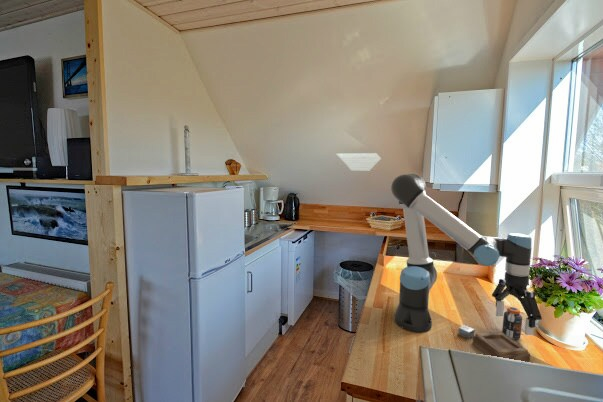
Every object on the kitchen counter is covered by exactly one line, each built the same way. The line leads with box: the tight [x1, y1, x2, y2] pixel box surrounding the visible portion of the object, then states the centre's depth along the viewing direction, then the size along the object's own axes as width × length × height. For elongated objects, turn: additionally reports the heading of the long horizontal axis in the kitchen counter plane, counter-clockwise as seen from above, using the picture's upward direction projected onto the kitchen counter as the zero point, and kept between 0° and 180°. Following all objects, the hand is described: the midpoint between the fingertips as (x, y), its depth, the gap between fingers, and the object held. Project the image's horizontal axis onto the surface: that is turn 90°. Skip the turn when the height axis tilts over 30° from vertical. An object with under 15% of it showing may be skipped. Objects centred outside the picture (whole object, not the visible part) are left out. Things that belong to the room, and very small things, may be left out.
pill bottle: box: [501, 306, 523, 340], centre depth 112 cm, size 6×6×11 cm
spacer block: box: [457, 324, 475, 340], centre depth 112 cm, size 4×4×3 cm
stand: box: [472, 331, 531, 363], centre depth 102 cm, size 12×12×4 cm
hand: (513, 324), depth 112 cm, fingers open, 13 cm apart
